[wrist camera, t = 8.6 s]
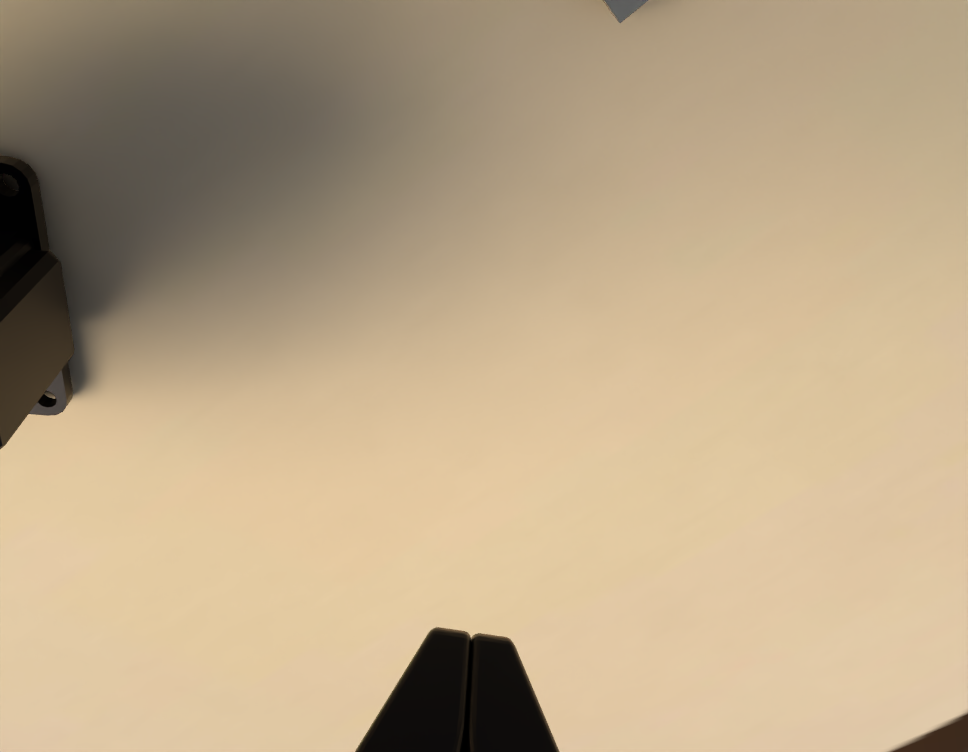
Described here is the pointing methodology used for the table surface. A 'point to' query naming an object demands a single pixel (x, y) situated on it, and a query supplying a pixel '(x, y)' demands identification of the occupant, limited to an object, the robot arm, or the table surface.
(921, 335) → the table surface
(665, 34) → the table surface
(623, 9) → the switch housing
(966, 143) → the table surface
